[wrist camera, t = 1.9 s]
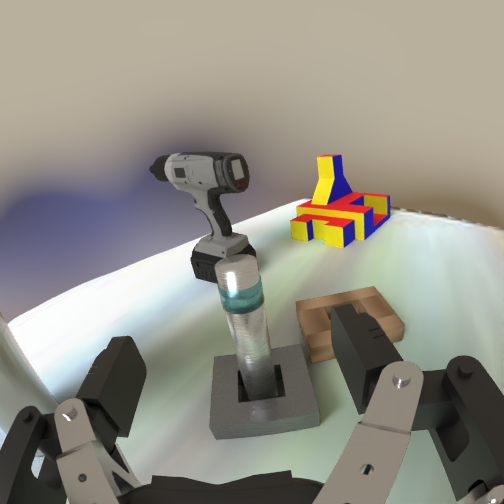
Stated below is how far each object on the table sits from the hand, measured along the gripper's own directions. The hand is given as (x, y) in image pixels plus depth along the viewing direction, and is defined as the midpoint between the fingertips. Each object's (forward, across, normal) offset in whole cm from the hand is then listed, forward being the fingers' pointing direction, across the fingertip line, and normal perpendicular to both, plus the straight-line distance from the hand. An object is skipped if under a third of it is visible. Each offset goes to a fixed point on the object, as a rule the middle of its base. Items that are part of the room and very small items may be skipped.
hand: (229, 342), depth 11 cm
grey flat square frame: (+11, 0, +18) cm, 21 cm away
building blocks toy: (+60, -25, +18) cm, 67 cm away
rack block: (+20, -12, +18) cm, 29 cm away
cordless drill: (+45, +8, +17) cm, 49 cm away
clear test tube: (+11, 0, +18) cm, 21 cm away
